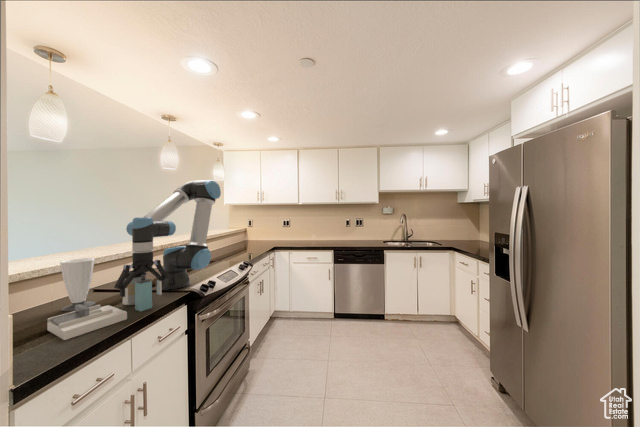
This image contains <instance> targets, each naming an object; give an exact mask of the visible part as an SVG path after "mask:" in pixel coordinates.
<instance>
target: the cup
mask: <svg viewBox="0 0 640 427" xmlns="http://www.w3.org/2000/svg"><path fill="white" fill-rule="evenodd" d="M95 260H96V259H95V258H94V257H81V258H72V259H71V258H70V259H65V260H62V261H60V264H59V265H60V270H61V275H62V280H63V283H64V286H65V290H66V293H67V296H68V298H69V301H70V302H71V304H68V305H66V306H63V307H62V308H61V309H60V311H61V312H73V311H75V305H77V304H81V305H83V306H86V307H92V306H95V305H96V301H92V300H91V301H90V300H89V301H86V300H87V296H89V294H88V293H89V291H90V288H91V283H92V277H93V274H94V266H95Z"/></svg>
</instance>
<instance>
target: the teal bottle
mask: <svg viewBox="0 0 640 427" xmlns="http://www.w3.org/2000/svg"><path fill="white" fill-rule="evenodd" d="M146 276H147V274H146V275H141V279H140V280H137V282H136V283H135V306H134V309H135V311H138V312H143V311H146V310H149V309H152V308H153V281H152V280H151V279H150V278H146Z"/></svg>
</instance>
